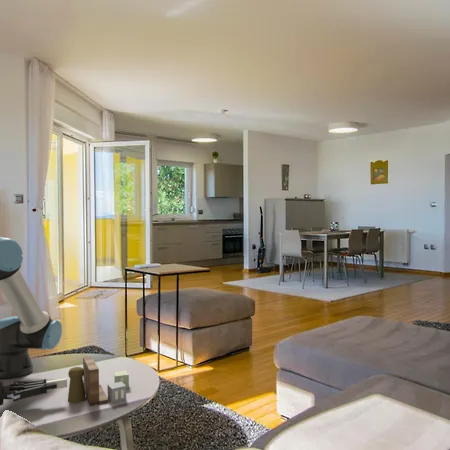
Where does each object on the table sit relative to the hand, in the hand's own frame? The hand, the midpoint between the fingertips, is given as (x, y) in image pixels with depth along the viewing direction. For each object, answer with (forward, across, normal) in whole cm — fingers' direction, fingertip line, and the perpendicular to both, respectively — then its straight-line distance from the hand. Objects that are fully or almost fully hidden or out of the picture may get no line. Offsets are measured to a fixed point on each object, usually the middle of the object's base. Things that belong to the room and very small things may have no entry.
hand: (66, 382), depth 154 cm
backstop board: (+10, 0, -7) cm, 12 cm away
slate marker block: (+13, +6, -4) cm, 15 cm away
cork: (+3, 0, -7) cm, 7 cm away
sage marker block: (+20, -5, -2) cm, 21 cm away
